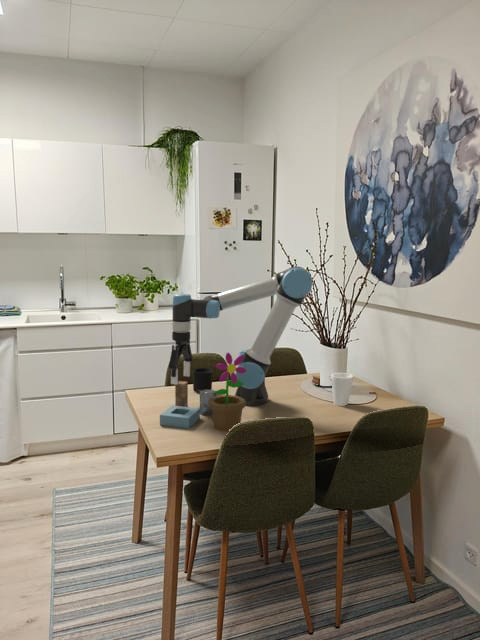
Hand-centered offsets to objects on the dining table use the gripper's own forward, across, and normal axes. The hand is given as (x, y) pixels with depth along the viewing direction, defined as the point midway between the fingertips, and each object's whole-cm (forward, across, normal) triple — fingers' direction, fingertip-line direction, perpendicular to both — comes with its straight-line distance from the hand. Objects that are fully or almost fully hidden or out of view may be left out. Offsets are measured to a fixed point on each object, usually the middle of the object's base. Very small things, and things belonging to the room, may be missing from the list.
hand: (180, 380), depth 216 cm
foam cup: (+11, -27, +66) cm, 72 cm away
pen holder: (+12, -26, +1) cm, 29 cm away
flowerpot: (+12, +15, +26) cm, 32 cm away
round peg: (+12, +3, +14) cm, 18 cm away
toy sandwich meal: (+12, -57, +55) cm, 80 cm away
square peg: (+12, 0, +1) cm, 12 cm away
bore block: (+12, +16, +7) cm, 21 cm away
